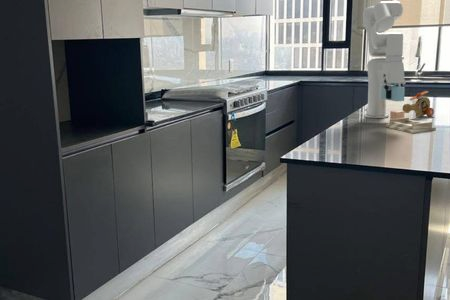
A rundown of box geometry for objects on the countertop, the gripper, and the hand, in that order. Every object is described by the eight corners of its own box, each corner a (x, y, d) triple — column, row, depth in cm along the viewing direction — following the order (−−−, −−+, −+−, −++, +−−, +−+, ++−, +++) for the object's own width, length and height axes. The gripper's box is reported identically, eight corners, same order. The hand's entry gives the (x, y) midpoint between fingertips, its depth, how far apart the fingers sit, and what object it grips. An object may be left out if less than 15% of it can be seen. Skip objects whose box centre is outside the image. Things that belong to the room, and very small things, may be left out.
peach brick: (390, 122, 254) (390, 111, 253) (397, 121, 256) (398, 110, 255) (396, 124, 250) (396, 112, 249) (403, 123, 252) (404, 111, 250)
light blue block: (381, 98, 243) (381, 85, 242) (387, 98, 245) (388, 85, 243) (397, 101, 232) (397, 87, 231) (404, 100, 233) (404, 86, 232)
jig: (385, 127, 243) (386, 119, 242) (408, 124, 248) (408, 116, 247) (412, 133, 227) (412, 125, 226) (435, 129, 232) (436, 122, 231)
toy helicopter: (435, 116, 268) (436, 90, 265) (410, 120, 257) (411, 94, 254) (422, 114, 275) (423, 89, 272) (397, 118, 264) (398, 93, 261)
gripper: (403, 58, 240) (401, 96, 244) (374, 60, 235) (373, 98, 239) (413, 59, 233) (412, 97, 237) (384, 60, 228) (382, 100, 232)
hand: (392, 97), depth 238 cm, fingers closed on light blue block, 4 cm apart
